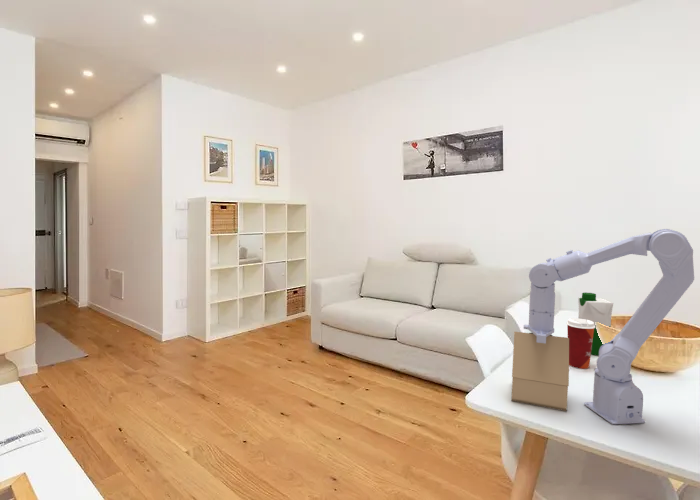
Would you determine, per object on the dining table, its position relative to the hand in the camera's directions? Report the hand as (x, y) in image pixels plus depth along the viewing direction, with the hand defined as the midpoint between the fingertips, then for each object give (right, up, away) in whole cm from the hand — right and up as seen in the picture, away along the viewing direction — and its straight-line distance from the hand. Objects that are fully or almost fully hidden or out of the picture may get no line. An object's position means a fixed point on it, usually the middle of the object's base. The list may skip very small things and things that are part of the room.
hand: (539, 362), depth 100 cm
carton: (-1, -9, -1) cm, 9 cm away
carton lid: (-2, +2, -4) cm, 5 cm away
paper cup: (+22, -7, +21) cm, 31 cm away
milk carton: (+34, -6, +33) cm, 48 cm away
